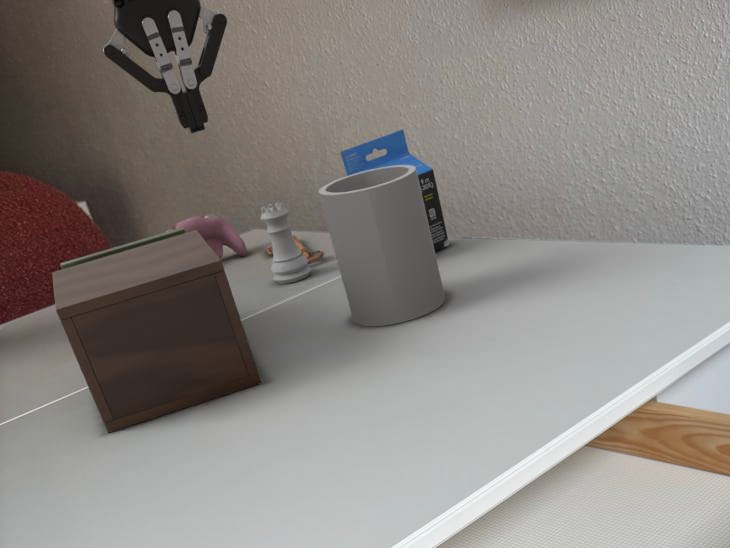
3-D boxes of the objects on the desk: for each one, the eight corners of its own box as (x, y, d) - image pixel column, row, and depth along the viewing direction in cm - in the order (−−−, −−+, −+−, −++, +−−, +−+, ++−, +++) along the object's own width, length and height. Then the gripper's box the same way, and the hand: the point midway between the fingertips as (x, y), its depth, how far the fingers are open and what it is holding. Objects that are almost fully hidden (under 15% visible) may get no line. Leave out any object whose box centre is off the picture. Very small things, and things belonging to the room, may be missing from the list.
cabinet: (98, 383, 107) (51, 272, 101) (234, 340, 109) (196, 229, 103) (107, 433, 94) (55, 309, 88) (261, 383, 96) (220, 259, 90)
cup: (444, 313, 102) (413, 178, 95) (349, 333, 103) (312, 201, 96) (445, 285, 109) (417, 158, 103) (357, 304, 110) (324, 180, 104)
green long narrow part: (93, 338, 117) (58, 254, 113) (206, 303, 120) (177, 219, 115) (103, 388, 102) (64, 293, 97) (234, 346, 104) (202, 252, 99)
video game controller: (242, 264, 143) (215, 213, 142) (252, 250, 139) (224, 198, 138) (176, 290, 138) (147, 238, 137) (184, 276, 134) (155, 223, 133)
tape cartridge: (390, 273, 118) (360, 151, 111) (368, 270, 121) (338, 152, 114) (451, 245, 122) (425, 127, 115) (429, 244, 125) (402, 128, 118)
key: (267, 252, 140) (280, 276, 127) (264, 245, 139) (277, 269, 127) (309, 236, 140) (327, 258, 128) (306, 229, 140) (324, 250, 127)
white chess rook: (266, 285, 125) (244, 212, 120) (292, 271, 128) (271, 200, 123) (295, 284, 122) (272, 210, 118) (320, 270, 125) (299, 198, 121)
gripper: (194, -81, 107) (253, 110, 116) (61, -46, 105) (132, 146, 114) (203, -87, 101) (264, 115, 110) (62, -50, 99) (137, 153, 108)
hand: (197, 130), depth 112 cm, fingers closed
